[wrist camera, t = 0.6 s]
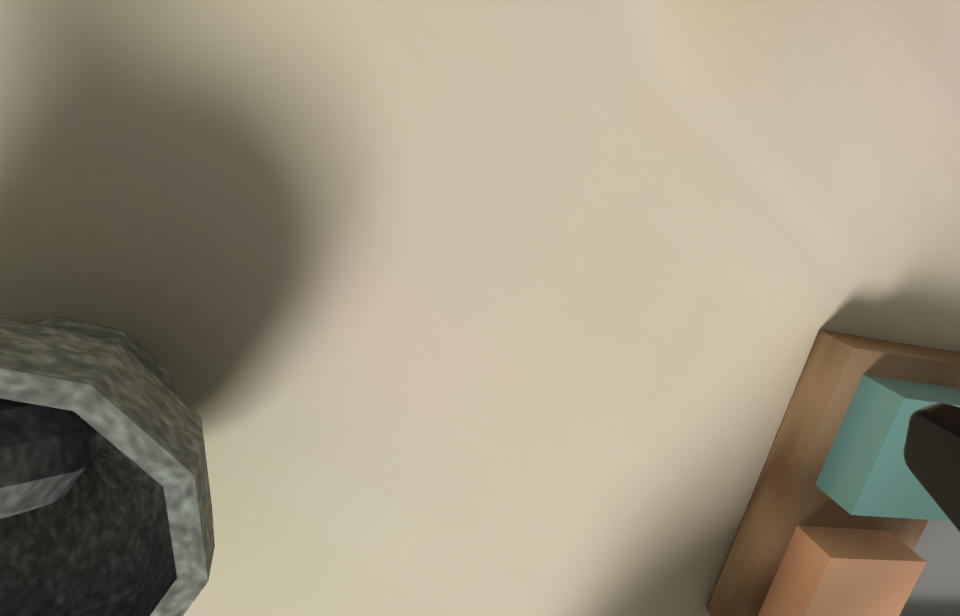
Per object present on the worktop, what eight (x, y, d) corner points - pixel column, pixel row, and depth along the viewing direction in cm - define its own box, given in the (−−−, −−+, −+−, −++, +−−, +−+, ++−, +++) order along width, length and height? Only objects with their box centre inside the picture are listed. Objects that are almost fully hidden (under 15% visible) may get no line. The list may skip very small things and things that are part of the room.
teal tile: (907, 491, 29) (947, 521, 27) (814, 484, 28) (850, 515, 26) (957, 387, 28) (1003, 411, 26) (863, 374, 26) (904, 398, 24)
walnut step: (842, 609, 34) (869, 638, 32) (706, 608, 31) (728, 639, 30) (964, 354, 30) (1003, 371, 28) (819, 330, 27) (852, 347, 26)
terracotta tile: (844, 621, 31) (878, 656, 29) (755, 620, 30) (785, 657, 28) (888, 530, 30) (926, 561, 28) (796, 525, 28) (830, 557, 26)
